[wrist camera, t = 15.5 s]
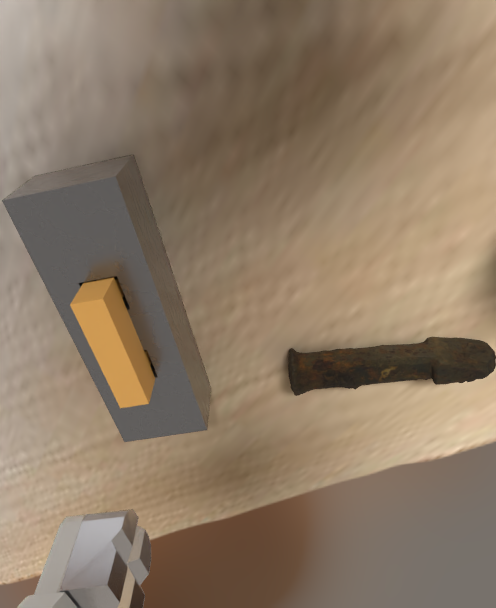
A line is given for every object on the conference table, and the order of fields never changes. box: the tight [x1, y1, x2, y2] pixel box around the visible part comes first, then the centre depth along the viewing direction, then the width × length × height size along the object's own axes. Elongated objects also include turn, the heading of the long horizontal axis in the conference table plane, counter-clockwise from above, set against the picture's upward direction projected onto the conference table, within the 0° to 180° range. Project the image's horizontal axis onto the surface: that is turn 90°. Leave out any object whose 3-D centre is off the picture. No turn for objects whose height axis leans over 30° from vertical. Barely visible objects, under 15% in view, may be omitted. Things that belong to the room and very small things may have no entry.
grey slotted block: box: [2, 155, 211, 442], centre depth 39 cm, size 24×8×6 cm, turn 12°
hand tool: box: [288, 337, 496, 396], centre depth 43 cm, size 19×4×5 cm, turn 95°
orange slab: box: [70, 276, 155, 408], centre depth 38 cm, size 10×2×8 cm, turn 12°
